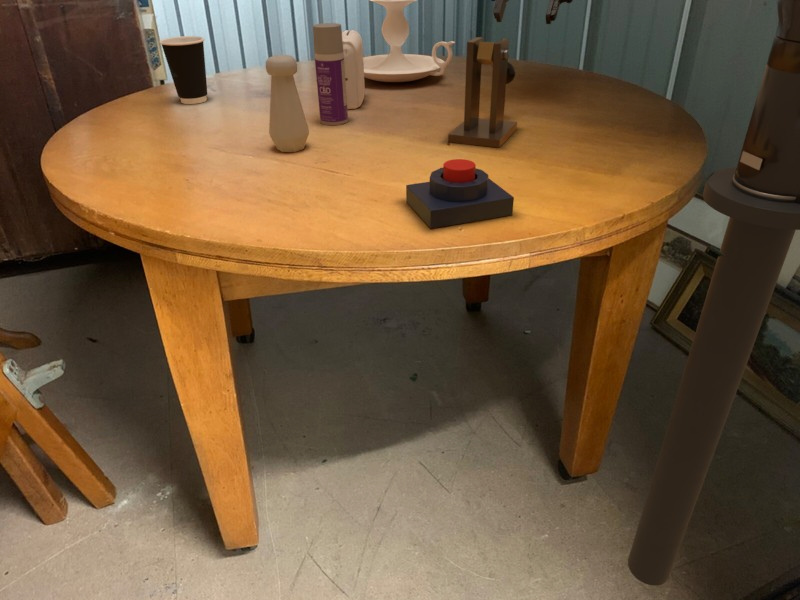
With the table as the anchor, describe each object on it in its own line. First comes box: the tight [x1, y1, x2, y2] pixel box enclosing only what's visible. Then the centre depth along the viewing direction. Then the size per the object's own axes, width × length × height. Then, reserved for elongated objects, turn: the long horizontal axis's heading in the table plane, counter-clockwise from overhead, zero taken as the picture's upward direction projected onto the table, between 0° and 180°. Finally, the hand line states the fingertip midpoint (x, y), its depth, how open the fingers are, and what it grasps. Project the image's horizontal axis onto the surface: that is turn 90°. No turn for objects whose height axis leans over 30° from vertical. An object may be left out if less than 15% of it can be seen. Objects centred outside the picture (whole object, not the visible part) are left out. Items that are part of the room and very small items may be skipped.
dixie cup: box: [158, 35, 208, 105], centre depth 113 cm, size 8×8×11 cm
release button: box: [442, 158, 477, 183], centre depth 68 cm, size 4×4×2 cm
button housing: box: [405, 167, 515, 230], centre depth 69 cm, size 10×8×4 cm
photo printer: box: [342, 29, 366, 110], centre depth 109 cm, size 10×4×12 cm, turn 177°
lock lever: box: [477, 41, 516, 85], centre depth 92 cm, size 14×4×4 cm, turn 156°
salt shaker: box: [265, 54, 310, 153], centre depth 87 cm, size 6×6×13 cm
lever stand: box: [447, 36, 518, 149], centre depth 90 cm, size 10×8×14 cm
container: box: [312, 22, 349, 126], centre depth 98 cm, size 5×5×15 cm
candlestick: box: [363, 0, 456, 83], centre depth 120 cm, size 21×25×28 cm
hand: (522, 19), depth 101 cm, fingers open, 8 cm apart
